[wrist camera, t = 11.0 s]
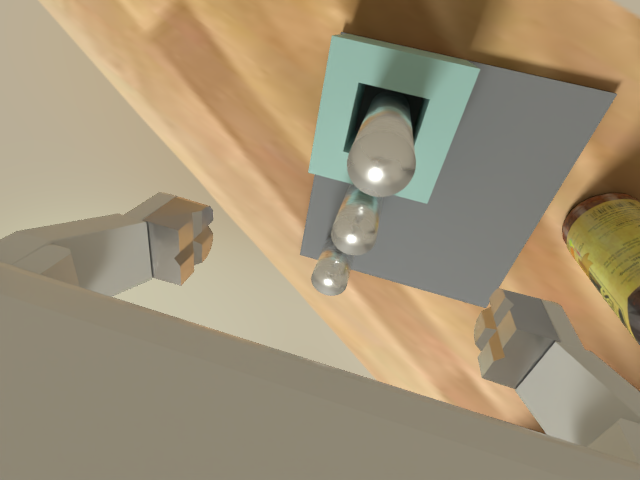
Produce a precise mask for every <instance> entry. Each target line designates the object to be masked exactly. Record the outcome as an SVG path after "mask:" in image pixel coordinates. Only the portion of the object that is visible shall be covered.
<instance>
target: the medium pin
mask: <svg viewBox="0 0 640 480" xmlns="http://www.w3.org/2000/svg"><path fill="white" fill-rule="evenodd" d="M382 202H383V197H375V196H371V195H368V194H365V193H363V192H362V191H360V190H359V189H358V188H357V187H356V186H355V185H354V184H350V185H349V187H348V189H347V192H346V194H345V197H344V199H343V202H342V204H341V207H340V209H339V212H338V214H337V217H336V219H335V222H334V224H333V227H332V229H331V239H332V242H333V244H334V245H335V246H336V247H337V248H338V249H339V250H340V251H341V252H343V253H345V254H348V255H362V254H365V253H367V252H368V251H370V250H371V249H372V248H373V246H374V244H375V242H376V236H377V231H378V225H379V219H380V214H381V208H382Z"/></svg>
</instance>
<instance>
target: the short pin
mask: <svg viewBox="0 0 640 480" xmlns="http://www.w3.org/2000/svg"><path fill="white" fill-rule="evenodd" d="M353 259H354V255H348V254H345V253H343V252H341V251H340V250H339V249H338V248H337V247H336V246H335V245H334V244H333V242H332V239H331V235H330V236H329V237H328V238H327V240H326V242H325V244H324V247H323V249H322V252H321V254H320V257H319V259H318V262H317V264H316V267H315V269H314V271H313V274H312V278H311V280H312V284H313V286H314V287H315V288H316V289H317V290H318V291H319V292H321V293H322V294H325V295H330V296H334V295H338V294H341V293H342V292H343V291H344V290H345V289H346V286H347V282H348V278H349V274H350V271H351V267H352V263H353Z"/></svg>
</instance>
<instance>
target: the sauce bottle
mask: <svg viewBox="0 0 640 480" xmlns="http://www.w3.org/2000/svg"><path fill="white" fill-rule="evenodd" d="M562 232H563V239H564V241H565V243H566V245H567V248H568V250H569V252H570V253H571V255H572V256H573V257H574V259H575V260H576V261H577V263H578V264H579V266H580V267H581V268H582V269H583V271H584V272H585V273H586V275H587V276H588V277H589V279H590V280H591V281H592V283H593V284H594V285H595V287H596V288H597V290H598V291H599V292H600V293H601V295H602V296H603V298H604V299H605V300H606V302H607V303H608V304H609V306H610V307H611V308H612V309H613V311H614V312H615V313H616V315H617V316H618V317H619V318H620V320H621V321H622V323H623V324H624V326H625V327H626V328H627V329H628V331H629V332H630V334H631V335H632V336H633V337H634V338H635V340H636V341H637V342H638V344H639V345H640V201H638V200H637V199H635V198H633V197H632V196H630V195H627V194H621V193H608V194H604V195H597V196H594V197H591V198H589V199H587V200H585V201H583V202H581V203H579V204H578V205H577V206H576V207H575V208H574V209H573V210H571V212H570V213H569V215H568V216H567V217H566V219H565V221H564V224H563V226H562Z"/></svg>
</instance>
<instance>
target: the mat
mask: <svg viewBox="0 0 640 480" xmlns="http://www.w3.org/2000/svg"><path fill="white" fill-rule="evenodd" d="M341 34H349V33H344V32H341ZM351 35H353V34H351ZM356 36H358V35H356ZM360 37H362V36H360ZM365 38H367V37H365ZM369 39H371V38H369ZM374 40H376V39H374ZM378 41H380V40H378ZM383 42H385V41H383ZM387 43H389V42H387ZM392 44H393V43H392ZM396 45H398V44H396ZM400 46H402V45H400ZM405 47H407V46H405ZM409 48H411V47H409ZM414 49H416V48H414ZM418 50H420V49H418ZM423 51H425V50H423ZM427 52H429V51H427ZM432 53H434V52H432ZM436 54H438V53H436ZM441 55H443V54H441ZM445 56H447V55H445ZM450 57H452V56H450ZM454 58H456V57H454ZM458 59H460V58H458ZM463 60H465V59H463ZM467 61H469V60H467ZM469 62H470V63H472V64H474V65H475V66H477V67H478V68H480V71H479V74H478V77H477V79H476V82H475V84H474V87H473V89H472V92H471V94H470V97H469V99H468V102H467V104H466V107H465V109H464V112H463V115H462V117H461V120H460V122H459V125H458V127H457V130H456V132H455V135H454V137H453V140H452V142H451V145H450V147H449V150H448V152H447V155H446V158H445V160H444V163H443V165H442V168H441V170H440V173H439V175H438V178H437V180H436V183H435V185H434V188H433V190H432V193H431V196H430V198H429V201H428V203H427V204H426V203H422V202H418V201H414V200H411V199H407V198H403V197H399V196H395V195H391V196H386V197H383V202H382V208H381V214H380V219H379V225H378V231H377V236H376V242H375V244H374V246H373V248H372V249H371V250H370V251H368V252H367V253H365V254H362V255H354V259H353V263H352V267H351V270H355V271H358V272H362V273H365V274H369V275H372V276H376V277H379V278H383V279H386V280H390V281H393V282H397V283H400V284H404V285H407V286H411V287H414V288H418V289H421V290H425V291H428V292H432V293H435V294H439V295H442V296H446V297H449V298H452V299H456V300H459V301H463V302H466V303H470V304H473V305H477V306H480V307H484V308H486V307H487V306H488V304H489V302H490V301H489V298H490V297H491V295H492V293H493V292H494V291H495V290H496V289H497V288H499V286H500V284H501V283H502V281H503V279H504V278H505V276H506V275H507V273H508V271H509V270H510V268H511V266H512V265H513V263H514V262H515V260H516V258H517V257H518V255H519V253H520V252H521V250H522V248H523V247H524V245H525V244H526V242H527V240H528V239H529V237H530V235H531V234H532V232H533V231H534V229H535V227H536V226H537V224H538V222H539V221H540V219H541V218H542V216H543V214H544V213H545V211H546V209H547V208H548V206H549V204H550V203H551V201H552V200H553V198H554V196H555V195H556V193H557V191H558V190H559V188H560V187H561V185H562V183H563V182H564V180H565V178H566V177H567V175H568V174H569V172H570V170H571V169H572V167H573V165H574V164H575V162H576V160H577V159H578V157H579V156H580V154H581V152H582V151H583V149H584V147H585V146H586V144H587V143H588V141H589V139H590V138H591V136H592V134H593V133H594V131H595V130H596V128H597V126H598V125H599V123H600V121H601V120H602V118H603V116H604V115H605V113H606V112H607V110H608V108H609V107H610V105H611V103H612V102H613V100H614V99H615V97H616V95H617V94H616V93H612V92H608V91H603V90H599V89H594V88H590V87H586V86H581V85H577V84H572V83H568V82H563V81H559V80H554V79H550V78H545V77H541V76H536V75H532V74H527V73H523V72H519V71H514V70H510V69H505V68H501V67H496V66H492V65H487V64H483V63H478V62H474V61H469ZM385 90H388V89H384V88H380V87H376V86H371V85H367V84H366V85H365V90H364V94H363V98H362V102H361V107H360V111H359V115H358V119H357V124H356V128H355V131H359V129H360V127H361V125H362V122H363V120H364V118H365V115H366V113H367V111H368V109H369V106H370V104H371V102H372V100H373V99H374V97H375V96H376V95H377V94H379V93H380V92H382V91H385ZM402 94H403V95H404V96H405V97H406V98H407V100H408V103H409V108H410V116H411V124H412V130H413V127H414V124H415V121H416V118H417V115H418V112H419V109H420V106H421V103H422V99H423V98H422V97H418V96H414V95H410V94H405V93H402ZM349 185H350V183H346V182H342V181H339V180H335V179H331V178H327V177H323V176H320V175H316V174H315V176H314V182H313V187H312V192H311V198H310V203H309V209H308V214H307V219H306V225H305V230H304V236H303V241H302V246H301V252H300V255H303V256H306V257H310V258H313V259H317V260H318V259H319V257H320V254H321V252H322V249H323V247H324V244H325V242H326V240H327V238H328V237H329V236H330V235H331V229H332V227H333V224H334V222H335V219H336V217H337V214H338V212H339V209H340V207H341V204H342V202H343V199H344V197H345V194H346V192H347V189H348V187H349Z"/></svg>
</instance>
